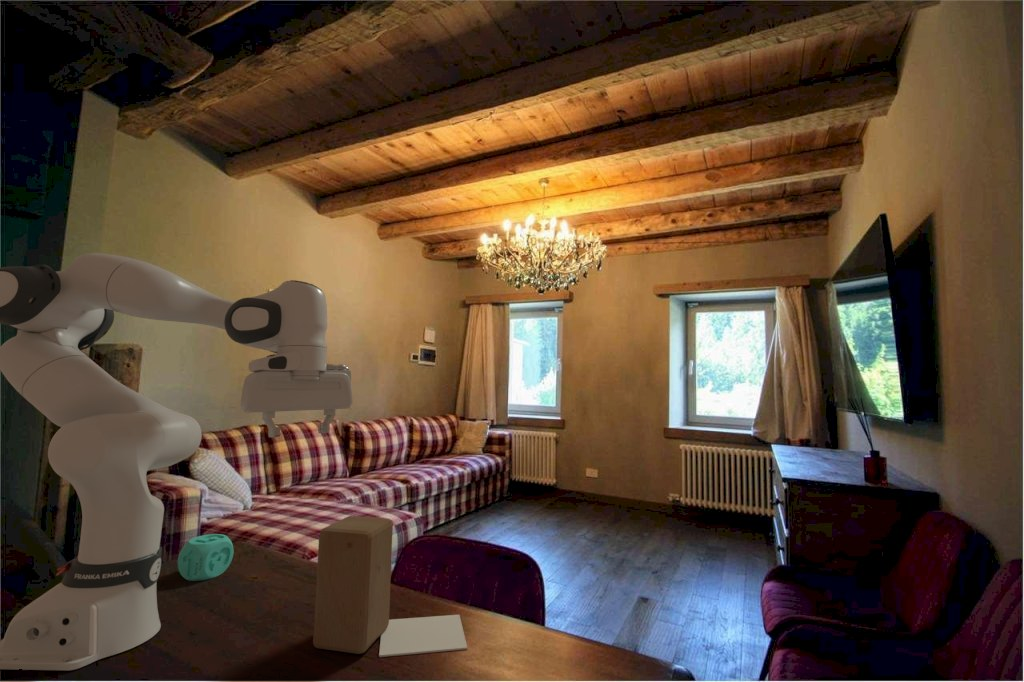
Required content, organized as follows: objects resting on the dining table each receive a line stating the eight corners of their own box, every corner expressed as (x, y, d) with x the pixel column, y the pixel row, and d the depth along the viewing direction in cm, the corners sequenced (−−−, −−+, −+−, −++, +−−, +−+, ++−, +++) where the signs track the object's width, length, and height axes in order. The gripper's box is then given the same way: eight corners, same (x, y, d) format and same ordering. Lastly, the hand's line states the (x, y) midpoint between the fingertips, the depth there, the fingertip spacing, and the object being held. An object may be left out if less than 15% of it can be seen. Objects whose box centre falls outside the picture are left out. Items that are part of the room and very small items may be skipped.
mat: (378, 657, 76) (379, 655, 76) (382, 621, 88) (382, 620, 88) (467, 649, 79) (467, 647, 79) (459, 616, 91) (459, 614, 91)
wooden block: (363, 657, 75) (368, 533, 78) (310, 649, 77) (317, 529, 80) (390, 627, 85) (395, 517, 87) (342, 621, 87) (348, 514, 89)
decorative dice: (174, 578, 104) (179, 541, 104) (206, 565, 111) (210, 532, 112) (201, 583, 101) (205, 546, 102) (232, 570, 109) (236, 536, 110)
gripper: (343, 366, 98) (342, 430, 96) (239, 362, 82) (235, 439, 81) (358, 363, 94) (358, 431, 92) (252, 359, 78) (249, 440, 77)
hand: (300, 435), depth 86 cm, fingers open, 8 cm apart
